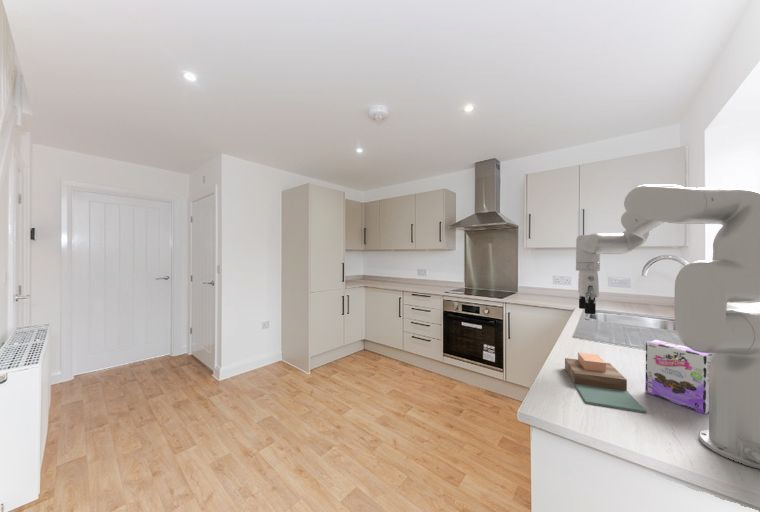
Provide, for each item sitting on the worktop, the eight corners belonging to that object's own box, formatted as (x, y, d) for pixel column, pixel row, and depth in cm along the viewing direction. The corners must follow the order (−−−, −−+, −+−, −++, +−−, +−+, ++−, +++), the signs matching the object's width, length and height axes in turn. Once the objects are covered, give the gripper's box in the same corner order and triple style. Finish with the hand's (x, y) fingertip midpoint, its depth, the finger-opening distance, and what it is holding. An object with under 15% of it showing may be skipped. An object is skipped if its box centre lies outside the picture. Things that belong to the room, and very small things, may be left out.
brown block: (626, 392, 92) (626, 379, 92) (574, 384, 97) (574, 373, 97) (609, 374, 106) (609, 363, 106) (565, 368, 111) (565, 358, 111)
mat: (646, 413, 80) (646, 410, 80) (585, 403, 85) (585, 401, 85) (627, 393, 91) (627, 391, 91) (575, 385, 97) (575, 383, 97)
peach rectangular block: (605, 371, 98) (605, 363, 98) (584, 369, 100) (584, 360, 100) (597, 362, 106) (597, 354, 106) (578, 360, 108) (578, 352, 108)
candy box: (644, 392, 92) (644, 340, 92) (655, 389, 94) (655, 338, 94) (705, 415, 79) (705, 354, 79) (716, 410, 81) (716, 352, 81)
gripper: (606, 268, 102) (605, 316, 102) (593, 266, 118) (592, 307, 118) (580, 268, 105) (580, 315, 105) (571, 265, 121) (570, 306, 121)
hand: (586, 311), depth 112 cm, fingers open, 9 cm apart
